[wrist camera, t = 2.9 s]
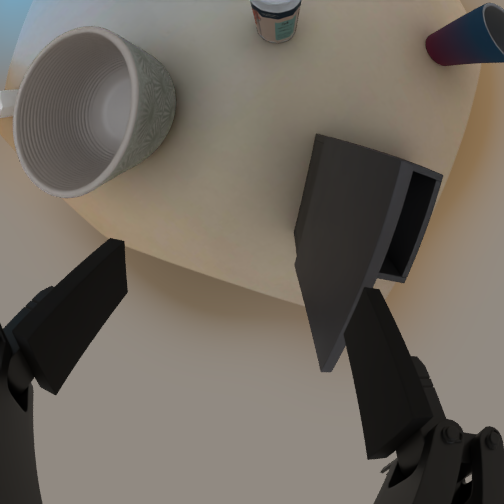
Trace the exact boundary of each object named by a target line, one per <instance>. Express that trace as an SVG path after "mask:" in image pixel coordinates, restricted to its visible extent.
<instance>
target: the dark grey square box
mask: <svg viewBox="0 0 504 504" xmlns="http://www.w3.org/2000/svg"><path fill="white" fill-rule="evenodd" d="M327 137H328V136H327ZM331 138H332V137H331ZM324 140H325V136H324V135H320V134H316V137H315V142H314V146H313V151H312V156H311V160H310V165H309V170H308V174H307V179H306V183H305V187H304V192H303V196H302V201H301V205H300V209H299V213H298V218H297V222H296V226H295V230H294V237H295V244H296V253H298V249H299V246H300V242H301V238H302V234H303V230H304V226H305V222H306V218H307V214H308V210H309V206H310V202H311V197H312V193H313V189H314V185H315V180H316V176H317V172H318V167H319V163H320V158H321V154H322V149H323V145H324ZM342 141H343V140H342ZM346 142H347V141H346ZM353 144H354V143H353ZM356 145H357V144H356ZM360 146H361V145H360ZM363 147H364V146H363ZM366 148H367V147H366ZM370 149H371V148H370ZM373 150H374V149H373ZM376 151H377V150H376ZM379 152H380V151H379ZM382 153H383V152H382ZM385 154H386V153H385ZM388 155H389V154H388ZM391 156H392V155H391ZM394 157H395V156H394ZM397 158H398V157H397ZM399 159H401V158H399ZM402 160H404V159H402ZM405 161H406V160H405ZM408 162H409V161H408ZM410 163H412V162H410ZM413 164H414V163H413ZM442 178H443V175H442V174H439V173H437V172H435V171H432V170H430V169H427V168H425V167H422V166H420V165H417V164H414V169H413V173H412V177H411V180H410V184H409V187H408V191H407V194H406V198H405V201H404V204H403V207H402V210H401V214H400V217H399V220H398V223H397V226H396V229H395V231H394V234H393V237H392V240H391V243H390V246H389V248H388V251H387V254H386V256H385V259H384V261H383V264H382V266H381V269H380V271H379V274H378V276H377V278H379V279H384V280H390V281H395V282H400V283H405V280H406V277H407V276H408V274H409V271H410V269H411V267H412V264H413V262H414V260H415V257H416V255H417V252H418V250H419V247H420V244H421V242H422V239H423V237H424V234H425V231H426V228H427V226H428V223H429V220H430V217H431V214H432V211H433V208H434V205H435V202H436V198H437V195H438V192H439V188H440V185H441V182H442Z"/></svg>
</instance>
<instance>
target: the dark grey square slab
mask: <svg viewBox="0 0 504 504" xmlns="http://www.w3.org/2000/svg"><path fill="white" fill-rule="evenodd" d="M413 169H414V164H413V163H410V162H408V161H405V160H402V159H399V158H397V157H394V156H391V155H388V154H385V153H382V152H379V151H376V150H373V149H370V148H366V147H363V146H360V145H356V144H353V143H350V142H346V141H342V140H339V139H335V138H331V137H327V136H325V140H324V145H323V149H322V154H321V158H320V163H319V167H318V172H317V176H316V180H315V185H314V189H313V193H312V197H311V202H310V206H309V210H308V214H307V218H306V222H305V226H304V230H303V234H302V238H301V242H300V246H299V249H298V253H297V257H296V261H295V264H294V265H295V269H296V273H297V277H298V280H299V284H300V288H301V292H302V296H303V300H304V304H305V308H306V312H307V316H308V320H309V324H310V328H311V332H312V336H313V340H314V344H315V348H316V353H317V357H318V361H319V366H320V370H321V372H331V371H332V370H333V368H334V366H335V365H336V363H337V361H338V359H339V357H340V355H341V353H342V352H343V349H344V348H345V346H346V343H345V339H344V335H343V334H344V332H345V329H346V327H347V325H348V323H349V321H350V319H351V317H352V314H353V312H354V310H355V308H356V305H357V303H358V301H359V298H360V296H361V294H362V291H363V289H364V287H368V288H373V286H374V284H375V281H376V279H377V276H378V274H379V271H380V269H381V266H382V264H383V261H384V259H385V256H386V254H387V251H388V248H389V246H390V243H391V240H392V237H393V234H394V231H395V229H396V226H397V223H398V220H399V217H400V214H401V210H402V207H403V204H404V201H405V198H406V194H407V191H408V187H409V184H410V180H411V177H412V173H413Z"/></svg>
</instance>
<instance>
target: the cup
mask: <svg viewBox="0 0 504 504" xmlns="http://www.w3.org/2000/svg"><path fill="white" fill-rule="evenodd" d="M426 49H427V51H428V53H429V55H430V57H431V58H432V59H433V60H434V61H435V62H436V63H438V64H440V65H442V66H450V65H460V64H473V63H497V62H498V63H499V62H504V9H503V8H501V7H500V6H498V5H496V4H493V3H486V4H484V5H482V6H480V7H478V8H477V9H475V10H473V11H471V12H469V13H467V14H465V15H464V16H462V17H460V18H458V19H457V20H455V21H453V22H451V23H450V24H448V25H446V26H445V27H443V28H441V29H440V30H438V31H436V32H435V33H433V34H431V35H430V36H428V38H427V39H426Z"/></svg>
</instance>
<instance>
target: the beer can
mask: <svg viewBox="0 0 504 504" xmlns="http://www.w3.org/2000/svg"><path fill="white" fill-rule="evenodd" d="M250 2H251V6H252V10H253V14H254V18H255V22H256V26H257V32H258V34H259V35H260V36H261V37H262V38H263V39H265V40H266V41H269V42H273V43H281V42H285V41H287V40H289V39H290V38H291V37H292V36H293V35H294V33H295V31H296V26H297V21H298V16H299V10H300V5H301V0H250Z"/></svg>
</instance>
